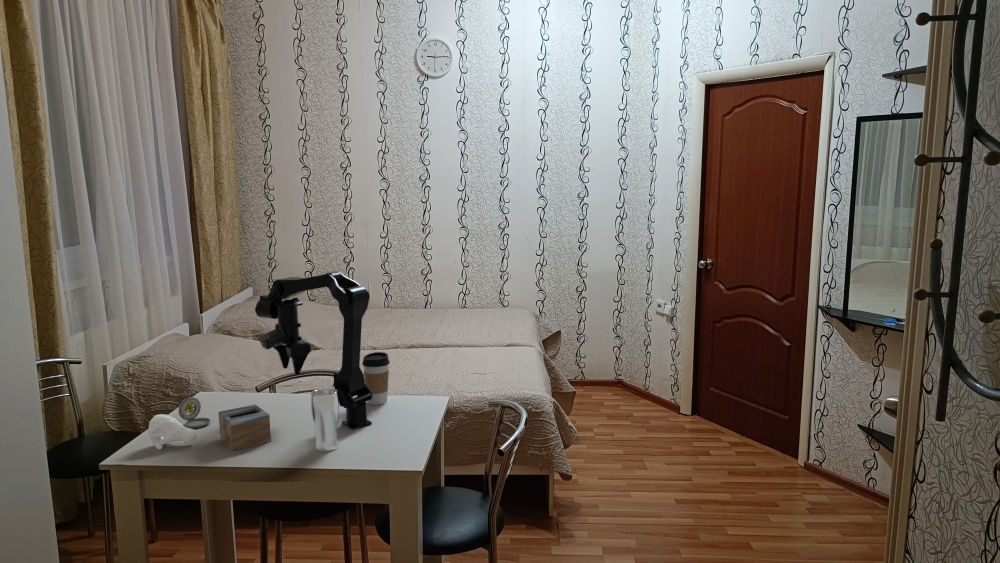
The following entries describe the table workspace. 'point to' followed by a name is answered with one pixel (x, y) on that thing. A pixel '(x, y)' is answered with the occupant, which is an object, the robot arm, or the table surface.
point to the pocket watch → (192, 412)
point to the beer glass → (325, 418)
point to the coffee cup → (377, 376)
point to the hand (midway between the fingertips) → (291, 371)
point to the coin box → (244, 426)
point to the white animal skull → (169, 431)
